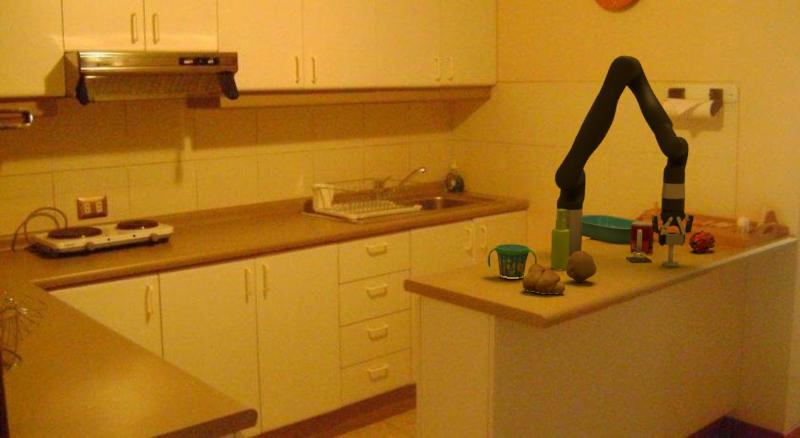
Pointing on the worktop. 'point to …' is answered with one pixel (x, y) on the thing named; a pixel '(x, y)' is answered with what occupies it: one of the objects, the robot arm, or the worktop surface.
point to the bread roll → (542, 280)
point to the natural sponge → (580, 266)
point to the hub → (670, 258)
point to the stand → (639, 252)
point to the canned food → (646, 236)
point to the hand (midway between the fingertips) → (671, 245)
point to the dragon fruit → (702, 241)
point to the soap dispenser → (560, 243)
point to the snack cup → (512, 259)
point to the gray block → (673, 238)
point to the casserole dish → (607, 228)
